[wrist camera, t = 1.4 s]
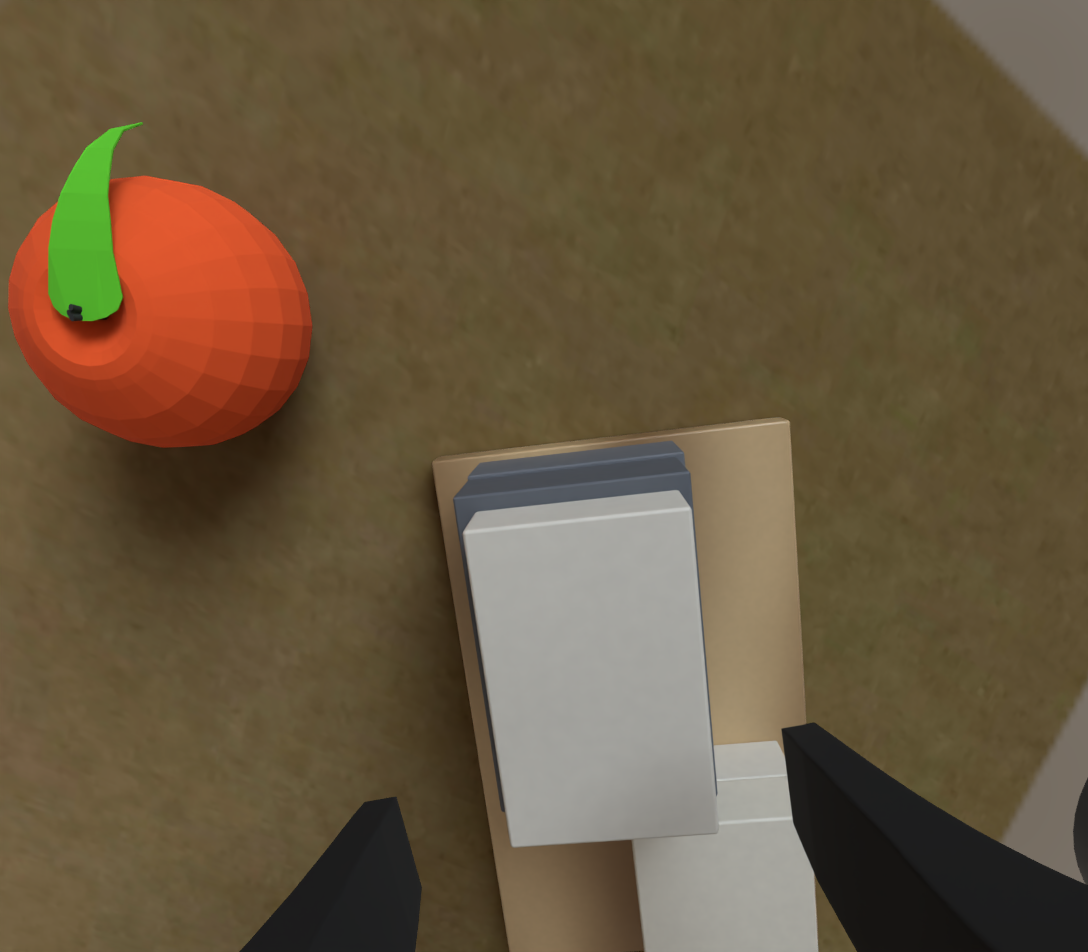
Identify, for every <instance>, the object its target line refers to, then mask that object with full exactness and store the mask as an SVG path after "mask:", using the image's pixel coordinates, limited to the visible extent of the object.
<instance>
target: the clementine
mask: <svg viewBox="0 0 1088 952" xmlns="http://www.w3.org/2000/svg"><path fill="white" fill-rule="evenodd" d="M140 125H143V123H142V122H141V123H137V124H132V125H127V126H122V127H117V128H112V129H109V130H108V131H107V132H106V133H104V134H103V135H102V136H100V137H99V138H98V139H97V140H95V141H94V142H93V143H91V144H90V145H89V146H87V147H86V149H85V150H84V152H83V153H82V155H81V157H80V158H79V160H78V161H77V163H76V164H75V166H74V168H73V169H72V171H71V173H70V175H69V177H68V179H67V181H66V183H65V185H64V187H63V189H62V191H61V194H60V197H59V200H58V202H57V203H56V204H54V205H53V206H52V207H51V208H50V209H49V210H47V211H46V212H45V213H44V214H43V215H42V216H40V217H39V218H38V220H37V221H36V223H35V225H34V226H33V228H32V229H31V231H30V232H29V234H28V236H27V237H26V239H25V240H24V242H23V244H22V245H21V247H20V249H19V250H18V252H17V254H16V257H15V261H14V264H13V268H12V271H11V275H10V278H9V304H8V309H9V313H10V318H11V322H12V327H13V331H14V335H15V338H16V340H17V342H18V344H19V346H20V348H21V351H22V353H23V355H24V357H25V359H26V361H27V363H28V364H29V366H30V367H31V369H32V370H33V371H34V373H35V374H36V375H37V377H38V378H39V379H40V380H41V382H42V383H43V384H44V385H45V387H46V388H47V389H48V390H49V392H50V393H51V394H52V396H53V397H54V398H55V399H56V400H57V401H59V402H60V403H61V404H62V405H64V406H65V407H66V408H67V409H69V410H70V411H71V412H72V413H74V414H75V415H76V416H77V417H79V418H80V419H81V420H83V421H86V422H88V423H90V424H92V425H94V426H96V427H98V428H100V429H102V430H105V431H107V432H109V433H111V434H113V435H116V436H118V437H121V438H123V439H126V440H128V441H131V442H136V443H141V444H146V445H151V446H156V447H162V448H165V447H189V446H203V445H215V444H217V443H220V442H223V441H226V440H228V439H231V438H234V437H237V436H239V435H242V434H244V433H246V432H248V431H250V430H251V429H253V428H255V427H257V426H258V425H259V424H261V423H262V422H264V421H265V420H266V419H268V418H269V417H270V416H272V415H273V414H274V413H276V412H277V411H278V410H280V409H281V407H282V406H283V405H284V403H285V402H286V401H287V399H288V398H289V397H290V395H291V394H292V393H293V392H294V390H295V389H296V388H297V386H298V384H299V381H300V379H301V376H302V374H303V371H304V369H305V366H306V364H307V361H308V359H309V351H310V342H311V334H312V321H311V314H310V306H309V299H308V293H307V291H306V288H305V286H304V283H303V281H302V278H301V276H300V273H299V271H298V268H297V266H296V263H295V262H294V260H293V259H292V258H291V256H290V255H289V253H288V252H287V251H286V249H285V248H284V246H283V245H282V244H281V242H280V241H279V239H278V238H277V237H276V235H275V234H274V233H272V232H271V231H270V230H269V229H268V228H266V227H265V226H264V225H263V224H262V223H261V222H259V221H258V220H257V219H256V218H255V217H254V216H252V215H251V214H250V213H249V212H247V211H246V210H245V209H243V208H242V207H241V206H239V205H238V204H237V203H235V202H233V201H231V200H229V199H227V198H225V197H223V196H221V195H219V194H217V193H215V192H213V191H211V190H209V189H207V188H205V187H203V186H198V185H192V184H187V183H182V182H176V181H171V180H166V179H160V178H155V177H149V176H138V177H129V178H119V179H111V180H110V171H111V165H112V158H113V152H114V149H115V147H116V145H117V143H118V141H119V140H120V138H121V136H122V134H123V132H124V131H127V130H129V129H132V128H135V127H137V126H140Z"/></svg>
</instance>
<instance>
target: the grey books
mask: <svg viewBox="0 0 1088 952" xmlns="http://www.w3.org/2000/svg"><path fill="white" fill-rule="evenodd" d="M467 479H468V481H467V482H466V484H465V485H464V486H463V487H462V488H461V489H460V491H459V492H458V493H457V494H456V495H455V496H454V498H453V503H454V510H455V516H456V523H457V529H458V536H459V542H460V549H461V555H462V562H463V568H464V575H465V581H466V587H467V594H468V600H469V607H470V613H471V620H472V626H473V633H474V639H475V646H476V652H477V658H478V665H479V671H480V678H481V684H482V691H483V697H484V704H485V710H486V717H487V723H488V730H489V736H490V742H491V749H492V755H493V762H494V768H495V775H496V781H497V788H498V794H499V801H500V807H501V811H502V812H505V808H504V801H503V795H502V788H501V781H500V775H499V768H498V762H497V755H496V749H495V742H494V736H493V729H492V723H491V716H490V710H489V703H488V697H487V690H486V684H485V677H484V671H483V664H482V658H481V651H480V645H479V638H478V632H477V625H476V619H475V612H474V606H473V599H472V593H471V586H470V580H469V573H468V567H467V560H466V554H465V547H464V541H463V531H464V529H465V528H466V526H467V525H468V523H469V522H470V520H471V518H472V517H473V515H474V514H475V513H476V512H479V511H488V510H497V509H506V508H516V507H525V506H534V505H543V504H552V503H561V502H571V501H580V500H589V499H598V498H607V497H616V496H625V495H635V494H644V493H653V492H662V491H671V490H678V491H679V492H680V493H681V494H682V496H683V497H684V499H685V500H686V502H687V503H688V505H689V506H690V508H691V510H692V519H693V531H694V542H695V554H696V566H697V578H698V589H699V601H700V613H701V624H702V636H703V648H704V660H705V671H706V683H707V695H708V706H709V718H710V730H711V742H712V753H713V765H714V777H715V788H716V796H717V794H718V792H717V780H716V768H715V756H714V745H713V733H712V721H711V709H710V697H709V686H708V674H707V662H706V650H705V638H704V627H703V615H702V603H701V591H700V579H699V568H698V556H697V544H696V532H695V521H694V509H693V497H692V485H691V474H690V472H689V470H688V469H687V468H686V467H685V456H684V452H683V451H682V450H681V449H680V448H679V447H678V446H677V445H676V444H675V443H674V442H673V441H664V442H656V443H647V444H638V445H630V446H621V447H612V448H604V449H595V450H586V451H578V452H569V453H560V454H551V455H543V456H534V457H525V458H517V459H508V460H499V461H491V462H482V463H479V464H478V465H477V466H476V468H475V469H474V470H473V471H472V472H471V473H470V474H469V476H468V478H467Z"/></svg>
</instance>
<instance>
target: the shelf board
mask: <svg viewBox="0 0 1088 952" xmlns="http://www.w3.org/2000/svg"><path fill="white" fill-rule="evenodd" d="M664 441H673V442H674V443H675V444H676V445H677V446H678V447H679V448H680V449H681V450H682V451H683V452H684V456H685V467H686V468H687V469H688V470H689V472H690V474H691V485H692V497H693V509H694V521H695V532H696V544H697V556H698V568H699V579H700V591H701V603H702V615H703V627H704V638H705V650H706V662H707V674H708V686H709V697H710V709H711V721H712V733H713V745H724V744H737V743H750V742H763V741H777V742H778V744H779V746H780V748H781V750H782V752H783V754H784V746H783V739H782V731H781V728H787V727H793V726H798V725H804V724H806V707H805V689H804V671H803V653H802V634H801V616H800V598H799V580H798V562H797V544H796V526H795V508H794V490H793V472H792V453H791V435H790V422H789V421H788V420H786V419H783V418H780V417H775V418H767V419H758V420H750V421H741V422H732V423H724V424H715V425H707V426H698V427H689V428H681V429H672V430H664V431H655V432H646V433H638V434H629V435H621V436H612V437H603V438H595V439H586V440H578V441H569V442H560V443H552V444H543V445H535V446H526V447H517V448H509V449H500V450H492V451H483V452H474V453H466V454H457V455H449V456H440V457H438V458H437V459H435V460H434V461H433V462H432V470H433V476H434V482H435V489H436V495H437V501H438V507H439V514H440V520H441V526H442V532H443V539H444V545H445V551H446V558H447V564H448V570H449V576H450V583H451V589H452V595H453V601H454V608H455V614H456V620H457V627H458V633H459V639H460V645H461V652H462V658H463V664H464V670H465V677H466V683H467V689H468V696H469V702H470V708H471V714H472V721H473V727H474V733H475V739H476V746H477V752H478V758H479V765H480V771H481V777H482V783H483V790H484V796H485V802H486V808H487V815H488V821H489V827H490V834H491V840H492V846H493V852H494V859H495V865H496V871H497V877H498V884H499V890H500V896H501V903H502V909H503V915H504V921H505V928H506V934H507V940H508V946H509V952H630V951H644V946H643V937H642V929H641V920H640V911H639V902H638V894H637V885H636V876H635V867H634V859H633V850H632V841H631V840H620V841H606V842H591V843H576V844H562V845H547V846H532V847H518V848H513V847H511V845H510V840H509V834H508V827H507V821H506V814H505V812H502V811H501V807H500V801H499V794H498V788H497V781H496V775H495V768H494V762H493V755H492V749H491V742H490V736H489V730H488V723H487V717H486V710H485V704H484V697H483V691H482V684H481V678H480V671H479V665H478V658H477V652H476V646H475V639H474V633H473V626H472V620H471V613H470V607H469V600H468V594H467V587H466V581H465V575H464V568H463V562H462V555H461V549H460V542H459V536H458V529H457V523H456V516H455V510H454V503H453V498H454V496H455V495H456V494H457V493H458V492H459V491H460V489H461V488H462V487H463V486H464V485H465V484H466V482H467V481H468V479H467V478H468V476H469V474H470V473H471V472H472V471H473V470H474V469H475V468H476V466H477V465H478V464H479V463H482V462H491V461H499V460H508V459H517V458H525V457H534V456H543V455H551V454H560V453H569V452H578V451H586V450H595V449H604V448H612V447H621V446H630V445H638V444H647V443H656V442H664ZM784 756H785V754H784ZM814 884H815V874H814ZM815 902H816V888H815ZM816 920H817V906H816ZM817 938H818V924H817Z"/></svg>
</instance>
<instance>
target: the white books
mask: <svg viewBox="0 0 1088 952" xmlns="http://www.w3.org/2000/svg"><path fill="white" fill-rule="evenodd" d="M714 756H715V768H716V780H717V792H718V794H717V796H716V800H717V812H718V824H719V831H718V833H717V834H708V835H694V836H679V837H664V838H650V839H635V840H631V841H632V850H633V859H634V867H635V876H636V885H637V894H638V902H639V911H640V920H641V929H642V937H643V946H644V952H818V938H817V920H816V902H815V884H814V871H813V869H812V867H811V864H810V862H809V860H808V858H807V855H806V853H805V851H804V848H803V846H802V843H801V841H800V839H799V836H798V834H797V831H796V829H795V827H794V824H793V818H792V810H791V802H790V794H789V786H788V778H787V770H786V762H785V756H784V754H783V752H782V750H781V748H780V746H779V744H778V742H777V741H763V742H750V743H737V744H724V745H714Z"/></svg>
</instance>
